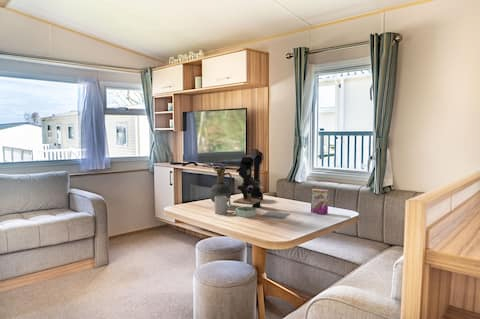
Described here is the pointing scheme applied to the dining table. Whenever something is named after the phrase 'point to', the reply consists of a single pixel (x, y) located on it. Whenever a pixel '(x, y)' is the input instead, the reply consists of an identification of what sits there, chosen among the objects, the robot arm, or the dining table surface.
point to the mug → (221, 204)
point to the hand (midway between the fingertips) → (247, 198)
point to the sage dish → (245, 211)
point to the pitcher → (220, 185)
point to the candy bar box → (319, 201)
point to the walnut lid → (247, 200)
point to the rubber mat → (275, 215)
